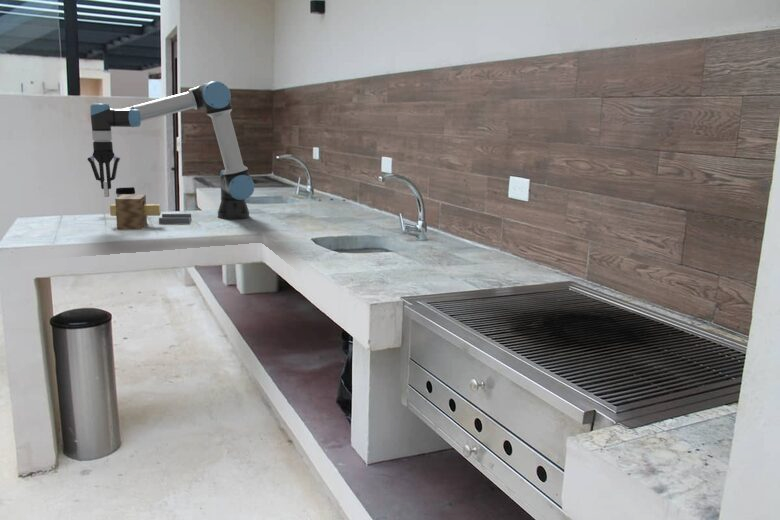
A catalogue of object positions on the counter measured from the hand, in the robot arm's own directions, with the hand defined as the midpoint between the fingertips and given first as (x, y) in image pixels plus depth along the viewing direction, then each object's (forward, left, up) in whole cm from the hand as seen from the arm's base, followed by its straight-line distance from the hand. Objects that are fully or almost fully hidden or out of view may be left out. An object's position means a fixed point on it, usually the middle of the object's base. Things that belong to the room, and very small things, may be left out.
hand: (106, 196), depth 281 cm
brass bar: (-11, 0, -8) cm, 14 cm away
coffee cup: (-5, -18, -13) cm, 23 cm away
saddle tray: (-27, -12, -13) cm, 32 cm away
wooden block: (-10, 0, -13) cm, 16 cm away
